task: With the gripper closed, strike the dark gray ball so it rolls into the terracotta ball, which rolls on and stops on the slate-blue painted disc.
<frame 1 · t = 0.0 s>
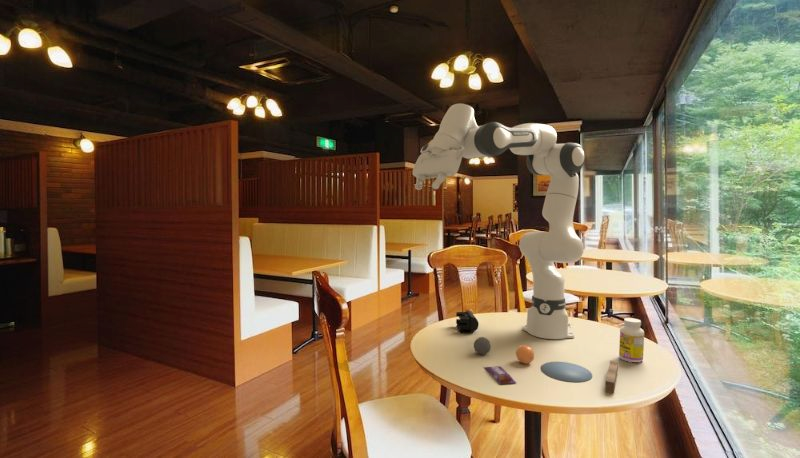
hand: (425, 188, 120), 54 cm above the table, tool tilted 30°, fingers open, 8 cm apart
snack package: (499, 378, 114), on the table
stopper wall: (611, 381, 111), on the table
supplement bottle: (630, 360, 126), on the table
dark gray ball: (482, 345, 131), on the table
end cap: (466, 330, 156), on the table
object ball: (525, 354, 123), on the table
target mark: (566, 371, 117), on the table
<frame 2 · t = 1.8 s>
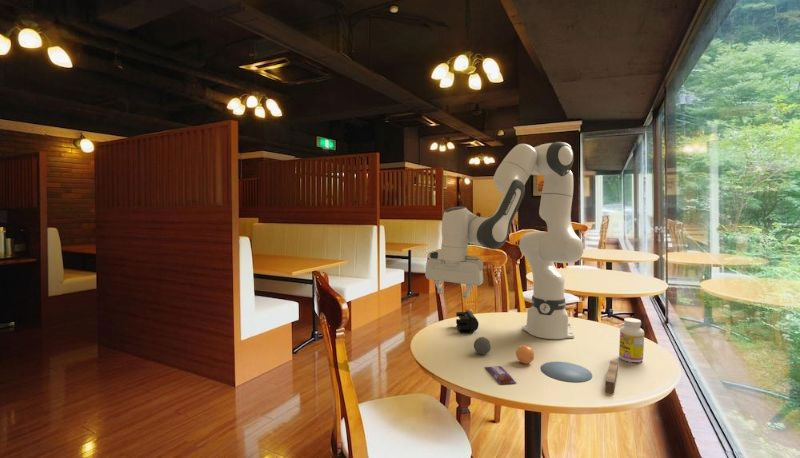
hand: (452, 295, 134), 19 cm above the table, tool pointing down, fingers open, 8 cm apart
nothing on the table moved.
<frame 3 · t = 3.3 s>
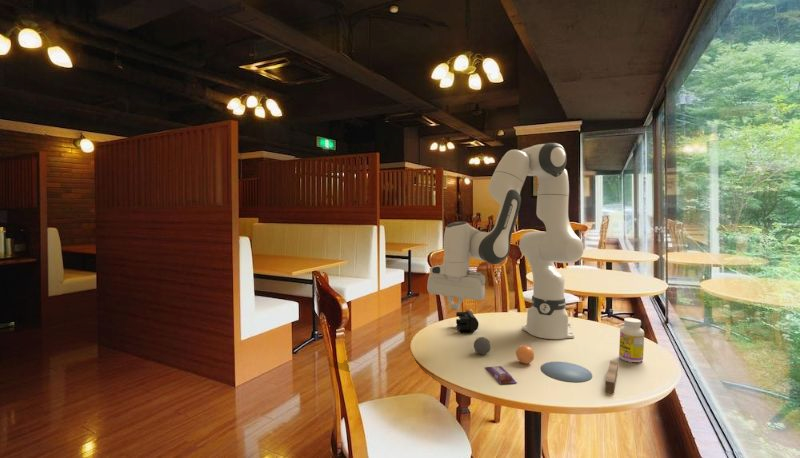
hand: (455, 309, 135), 14 cm above the table, tool pointing down, fingers closed
nothing on the table moved.
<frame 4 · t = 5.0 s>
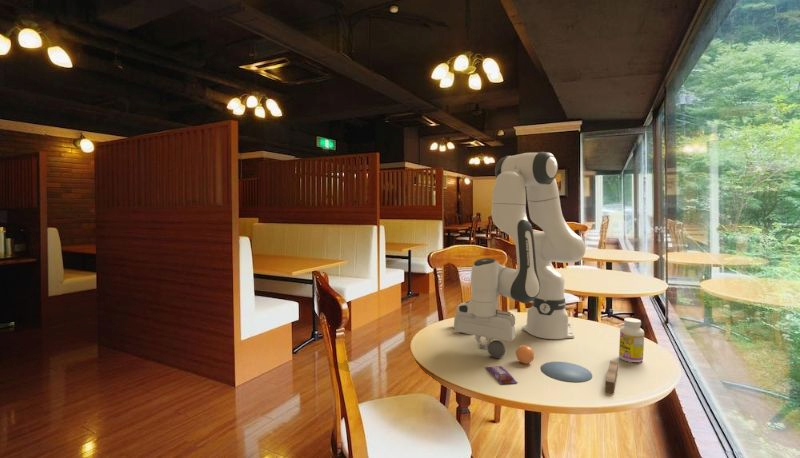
hand: (483, 349, 131), 2 cm above the table, tool pointing down, fingers closed
dark gray ball: (496, 349, 128), on the table
everything else where it was.
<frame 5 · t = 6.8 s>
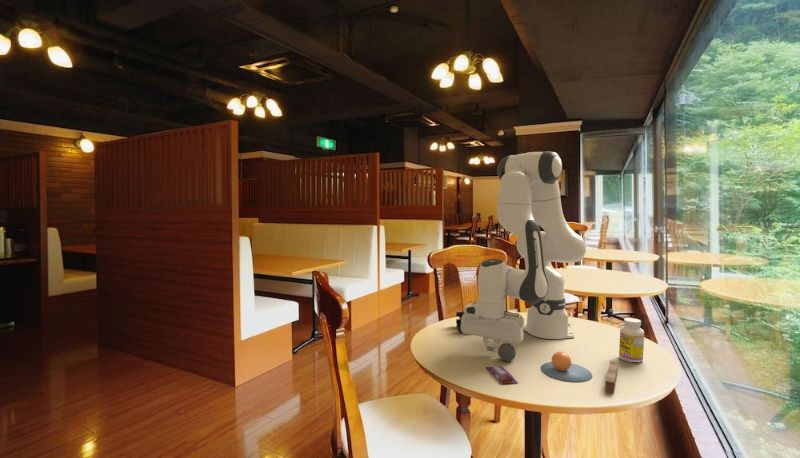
hand: (490, 351, 129), 2 cm above the table, tool pointing down, fingers closed
dark gray ball: (507, 352, 125), on the table
object ball: (561, 361, 118), on the table
everything else where it was.
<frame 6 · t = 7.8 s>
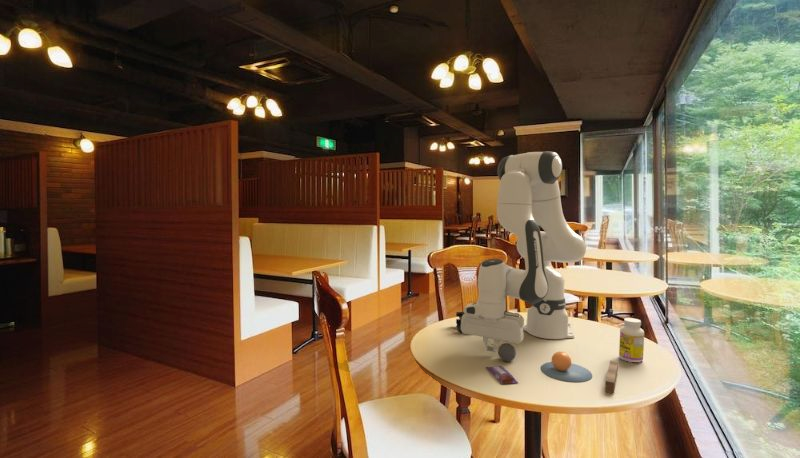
hand: (490, 351, 129), 2 cm above the table, tool pointing down, fingers closed
nothing on the table moved.
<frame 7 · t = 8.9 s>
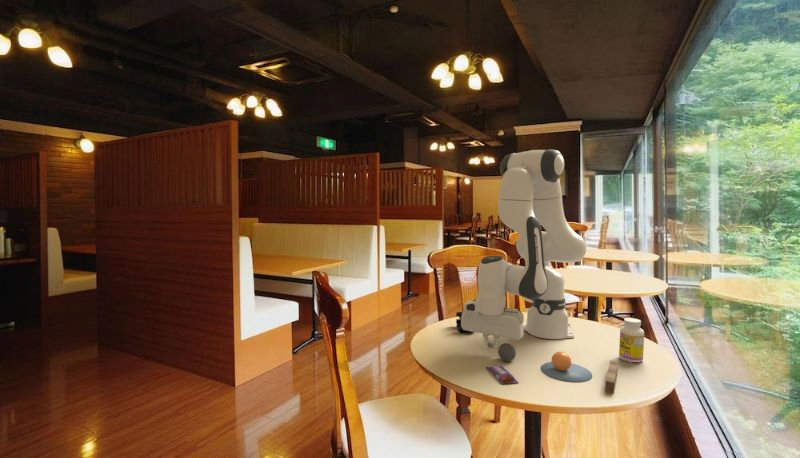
hand: (491, 347, 130), 3 cm above the table, tool pointing down, fingers closed
nothing on the table moved.
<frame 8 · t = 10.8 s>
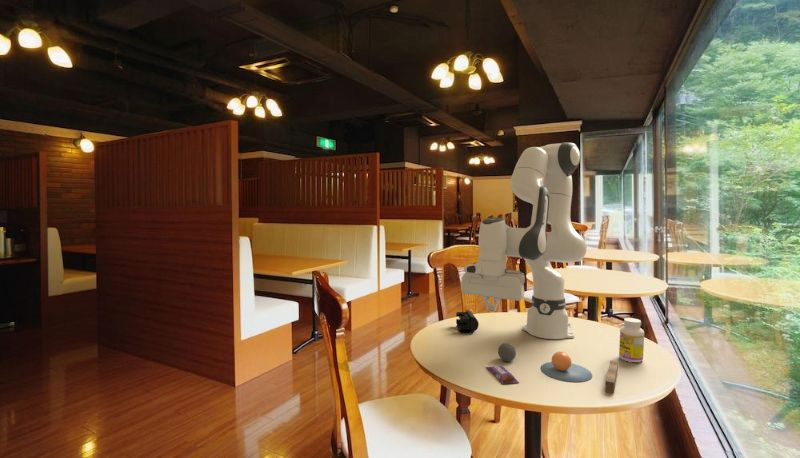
hand: (491, 310, 128), 15 cm above the table, tool pointing down, fingers closed
nothing on the table moved.
at the end: object ball 1.4 cm from the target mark (horizontally); object ball never touched the robot; dark gray ball first touched object ball at 5.1 s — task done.
